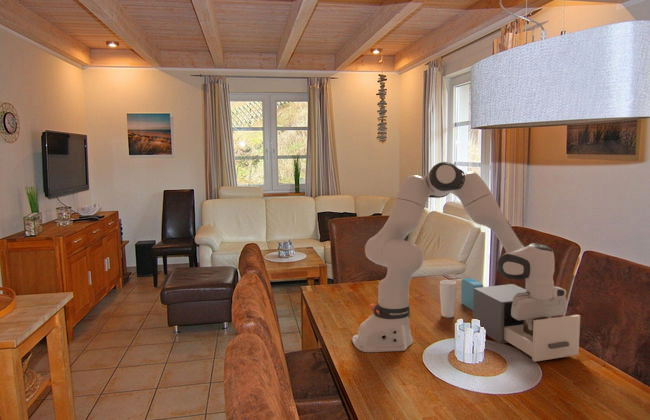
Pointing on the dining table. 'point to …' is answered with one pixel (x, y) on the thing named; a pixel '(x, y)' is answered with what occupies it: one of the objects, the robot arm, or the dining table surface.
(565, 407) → the dining table surface
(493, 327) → the cabinet
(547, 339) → the drawer
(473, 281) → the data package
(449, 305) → the drinking glass
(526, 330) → the walnut block
